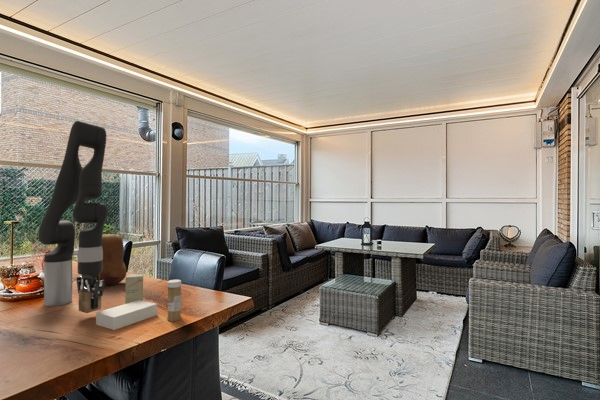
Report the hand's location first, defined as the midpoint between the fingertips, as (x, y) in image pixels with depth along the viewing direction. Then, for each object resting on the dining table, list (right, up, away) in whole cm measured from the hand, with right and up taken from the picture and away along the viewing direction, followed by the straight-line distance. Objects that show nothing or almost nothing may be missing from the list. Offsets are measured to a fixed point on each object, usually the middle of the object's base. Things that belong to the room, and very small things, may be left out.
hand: (89, 307), depth 117 cm
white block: (+14, -4, -2) cm, 15 cm away
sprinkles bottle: (+30, -4, -2) cm, 31 cm away
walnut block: (0, -1, 0) cm, 1 cm away
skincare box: (+10, -4, +12) cm, 16 cm away
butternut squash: (-19, -4, +47) cm, 51 cm away
